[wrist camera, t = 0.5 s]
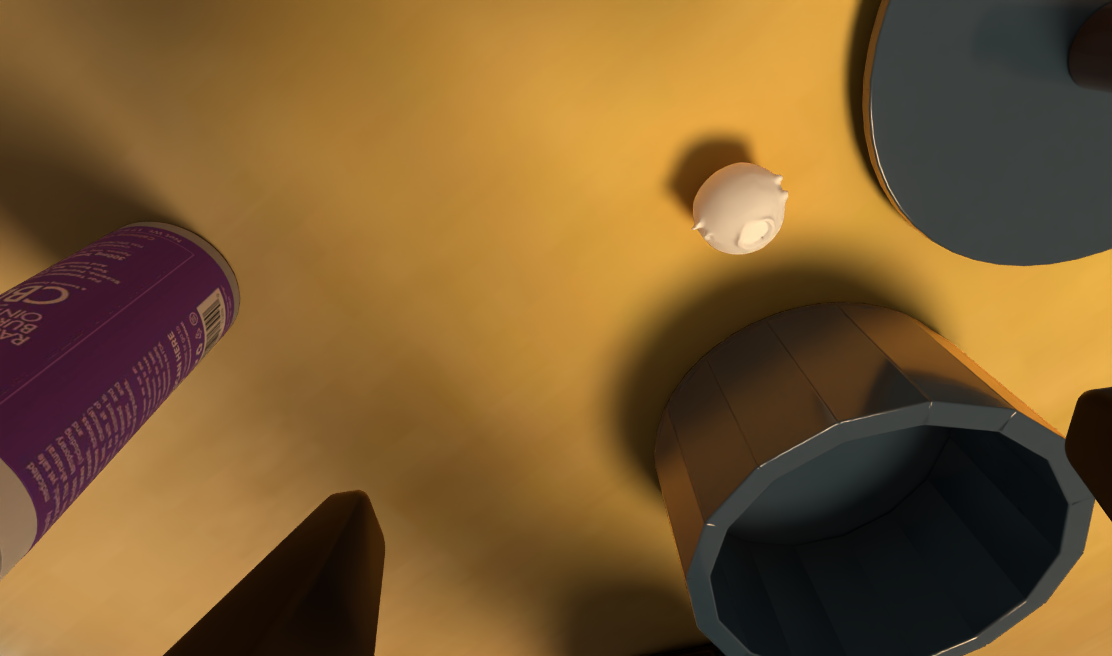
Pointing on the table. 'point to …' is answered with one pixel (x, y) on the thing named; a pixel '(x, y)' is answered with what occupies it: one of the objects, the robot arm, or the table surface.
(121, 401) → the container
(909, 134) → the lid
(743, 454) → the canister
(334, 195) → the table surface
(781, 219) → the white piggy bank
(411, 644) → the table surface
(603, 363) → the table surface
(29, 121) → the table surface
